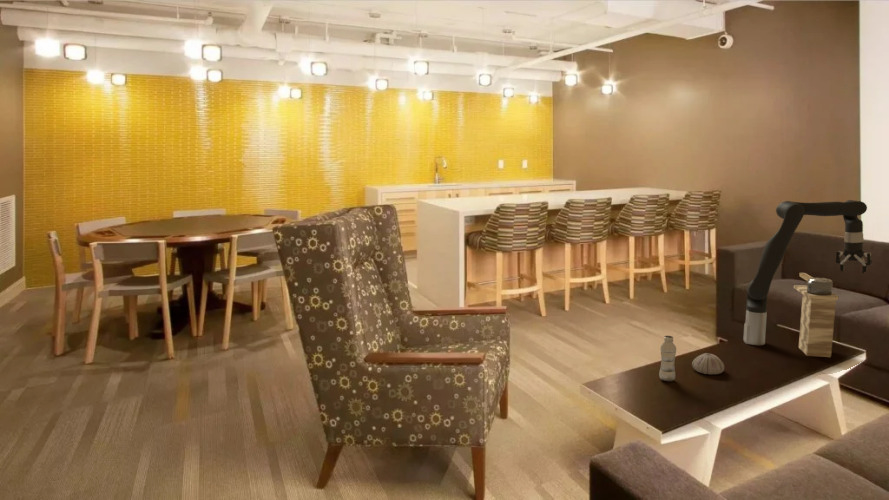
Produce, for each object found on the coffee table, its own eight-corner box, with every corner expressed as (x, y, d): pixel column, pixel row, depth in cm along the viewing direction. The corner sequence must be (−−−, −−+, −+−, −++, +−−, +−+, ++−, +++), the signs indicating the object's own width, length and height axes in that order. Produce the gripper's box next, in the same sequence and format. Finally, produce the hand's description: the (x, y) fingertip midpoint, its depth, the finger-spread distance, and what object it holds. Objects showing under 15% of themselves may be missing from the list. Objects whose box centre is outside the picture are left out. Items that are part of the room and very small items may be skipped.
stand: (833, 357, 260) (838, 296, 255) (804, 355, 263) (809, 295, 258) (816, 342, 280) (820, 285, 276) (789, 341, 284) (793, 285, 279)
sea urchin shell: (726, 378, 240) (726, 360, 239) (692, 374, 245) (693, 358, 244) (722, 367, 252) (723, 350, 251) (690, 364, 257) (691, 348, 256)
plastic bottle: (656, 377, 243) (657, 335, 239) (670, 376, 243) (672, 334, 240) (663, 383, 236) (664, 339, 233) (678, 382, 237) (679, 338, 234)
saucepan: (835, 295, 256) (836, 282, 255) (811, 295, 259) (812, 281, 258) (812, 282, 284) (813, 269, 283) (790, 281, 286) (791, 269, 285)
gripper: (834, 241, 272) (834, 272, 275) (869, 242, 261) (869, 275, 264) (838, 238, 277) (838, 269, 280) (873, 239, 266) (873, 271, 269)
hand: (853, 272), depth 272 cm, fingers open, 8 cm apart
